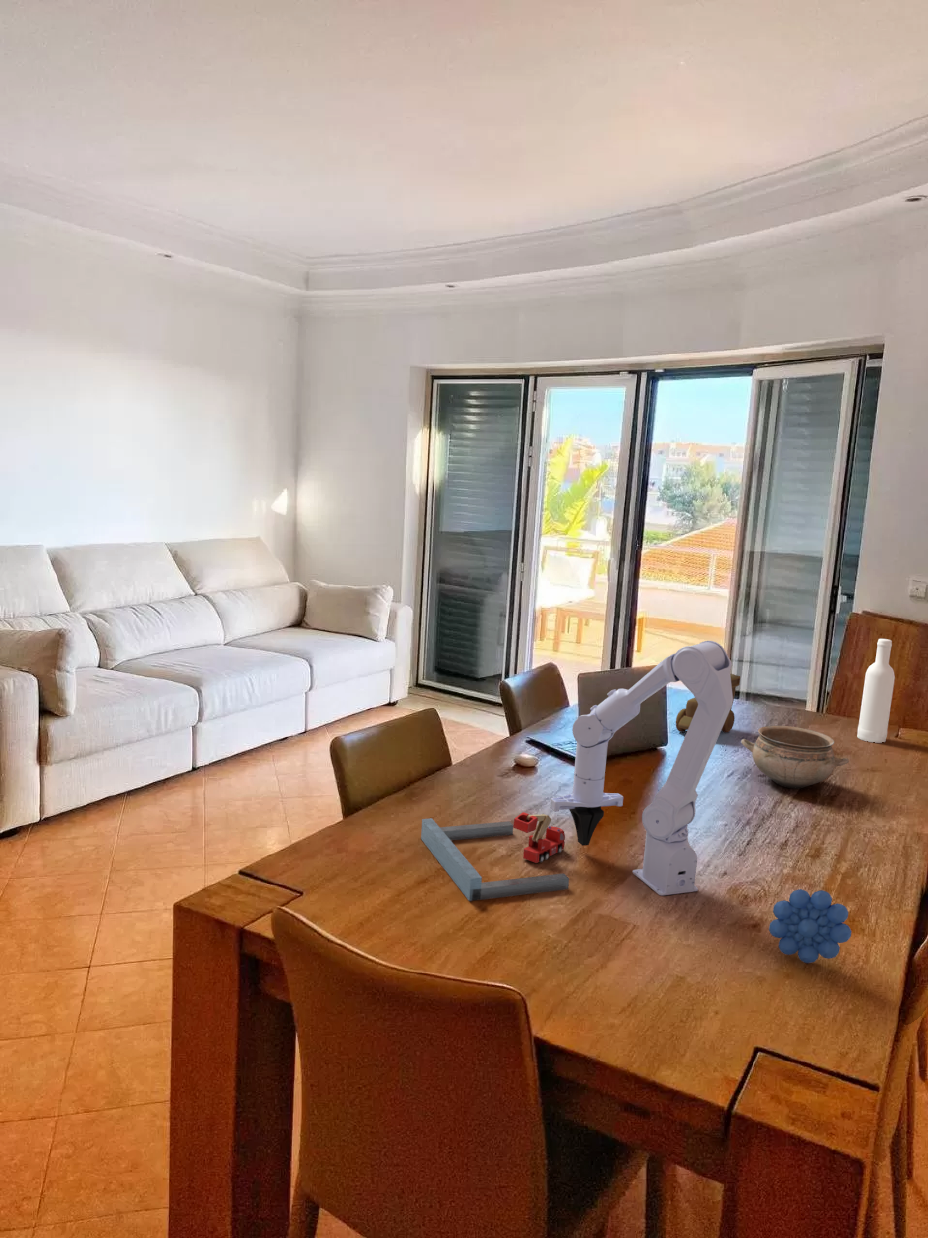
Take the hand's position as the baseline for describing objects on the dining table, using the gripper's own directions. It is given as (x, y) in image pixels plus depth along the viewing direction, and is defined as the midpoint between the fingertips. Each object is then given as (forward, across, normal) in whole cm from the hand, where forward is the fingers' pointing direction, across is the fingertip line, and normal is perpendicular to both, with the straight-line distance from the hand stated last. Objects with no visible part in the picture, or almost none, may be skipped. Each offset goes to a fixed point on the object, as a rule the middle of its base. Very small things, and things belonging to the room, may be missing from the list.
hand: (583, 843), depth 171 cm
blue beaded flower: (+2, -16, +43) cm, 46 cm away
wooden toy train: (+2, -76, -68) cm, 103 cm away
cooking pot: (+2, -71, -25) cm, 75 cm away
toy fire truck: (+2, +9, 0) cm, 10 cm away
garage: (+2, +19, 0) cm, 19 cm away
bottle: (+2, -124, -53) cm, 135 cm away
